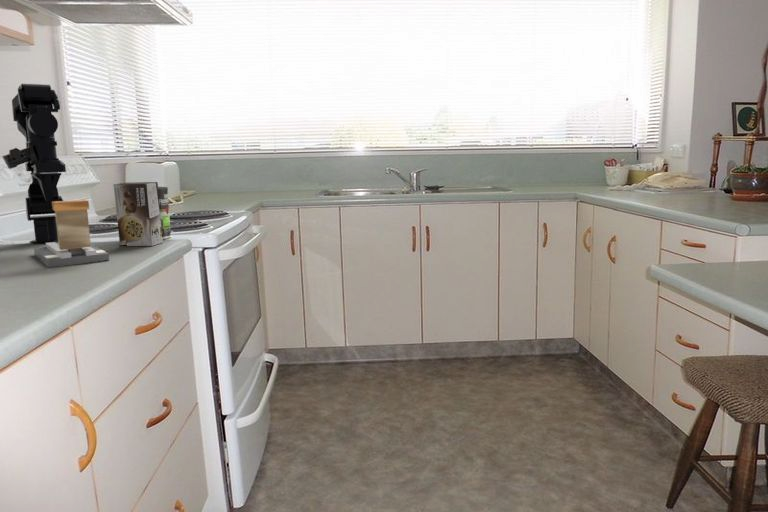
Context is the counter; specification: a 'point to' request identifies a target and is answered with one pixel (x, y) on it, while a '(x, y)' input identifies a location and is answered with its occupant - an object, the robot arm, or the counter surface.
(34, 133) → the robot arm
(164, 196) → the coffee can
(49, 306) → the counter surface
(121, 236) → the grey printed cardboard box
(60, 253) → the fader deck
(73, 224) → the block
